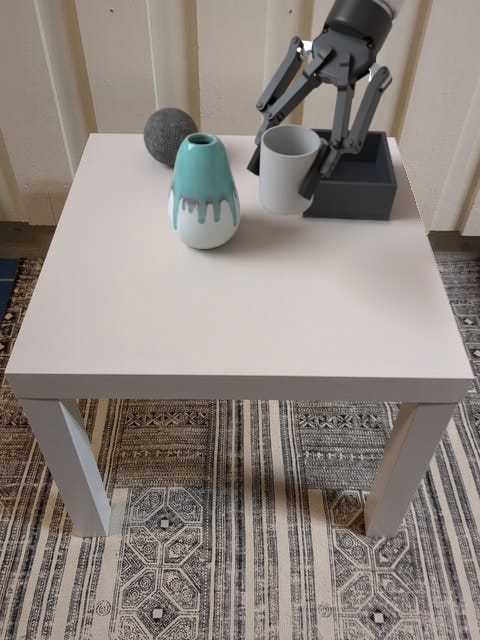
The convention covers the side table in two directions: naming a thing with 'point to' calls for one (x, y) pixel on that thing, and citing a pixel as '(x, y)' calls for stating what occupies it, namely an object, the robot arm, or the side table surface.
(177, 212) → the vase
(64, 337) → the side table surface
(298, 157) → the cup
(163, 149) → the decorative ball
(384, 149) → the open box
